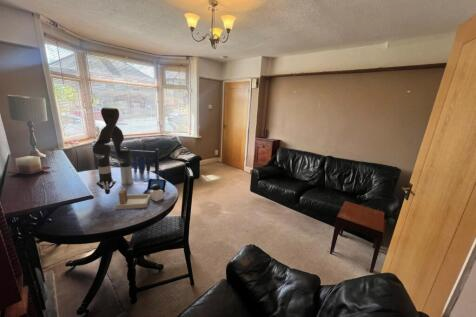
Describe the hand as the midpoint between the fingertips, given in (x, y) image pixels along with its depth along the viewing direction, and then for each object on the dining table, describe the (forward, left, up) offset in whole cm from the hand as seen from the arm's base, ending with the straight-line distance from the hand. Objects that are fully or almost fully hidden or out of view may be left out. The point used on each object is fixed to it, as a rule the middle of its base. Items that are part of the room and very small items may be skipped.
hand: (107, 193), depth 149 cm
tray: (0, +17, -8) cm, 19 cm away
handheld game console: (-20, +30, -9) cm, 37 cm away
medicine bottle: (-5, +33, -9) cm, 35 cm away
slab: (0, +10, -8) cm, 13 cm away
